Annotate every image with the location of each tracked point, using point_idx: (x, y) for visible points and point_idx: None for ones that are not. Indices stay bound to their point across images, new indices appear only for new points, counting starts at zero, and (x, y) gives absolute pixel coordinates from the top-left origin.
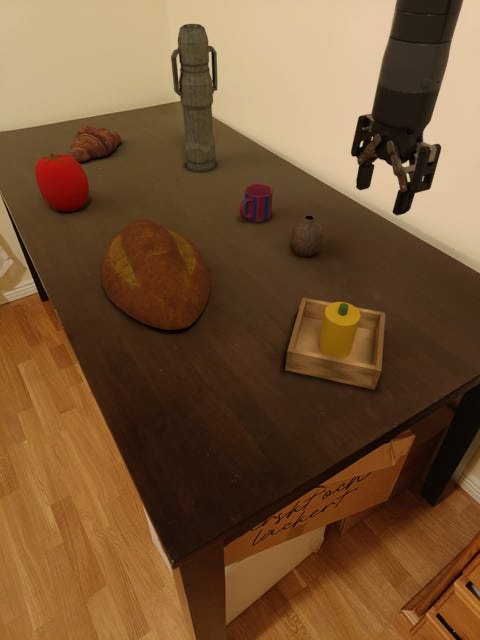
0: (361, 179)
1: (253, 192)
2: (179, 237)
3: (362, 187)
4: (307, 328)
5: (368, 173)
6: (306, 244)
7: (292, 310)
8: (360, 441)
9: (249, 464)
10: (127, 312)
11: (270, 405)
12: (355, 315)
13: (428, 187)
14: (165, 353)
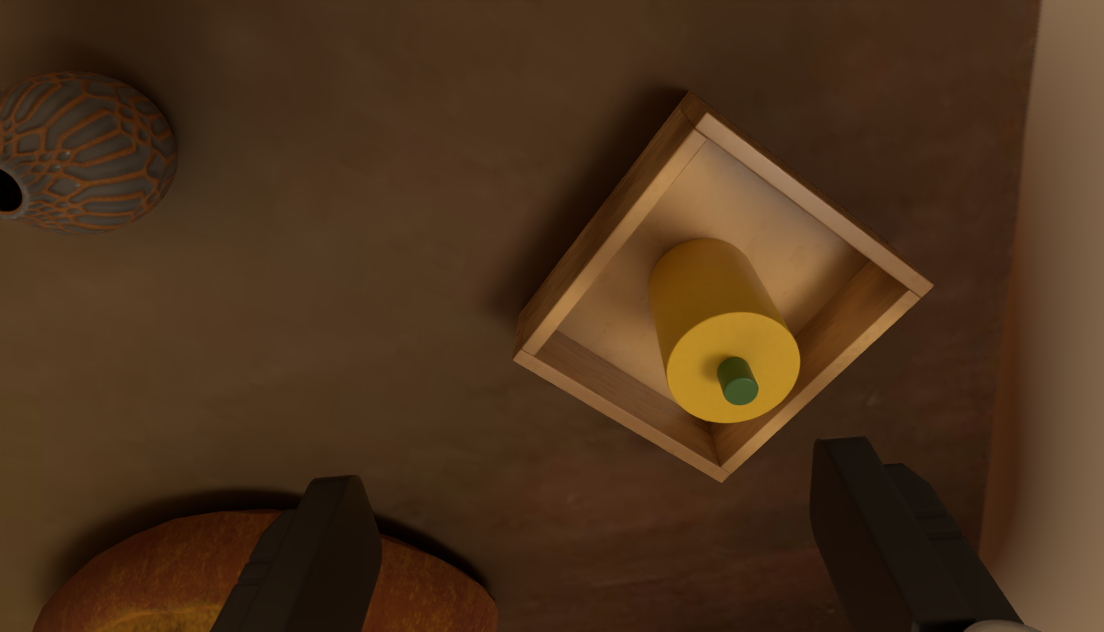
0: (354, 629)
1: None
2: (129, 617)
3: (370, 542)
4: (591, 328)
5: (322, 624)
6: (151, 192)
7: (482, 323)
8: (994, 357)
9: None
10: None
11: (787, 489)
12: (766, 336)
13: None
14: (542, 623)
